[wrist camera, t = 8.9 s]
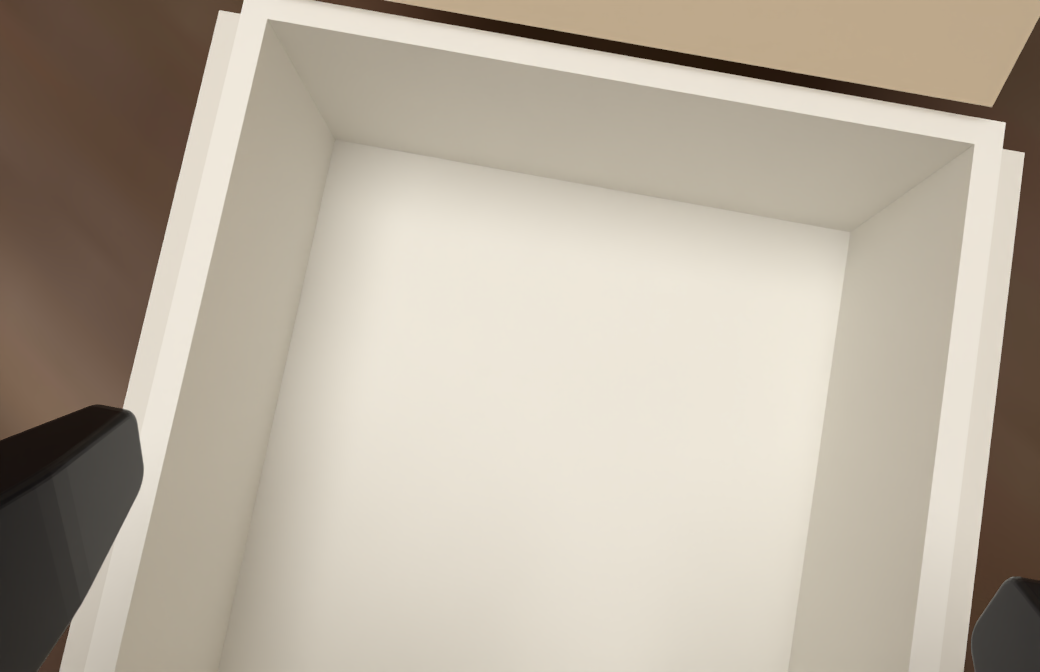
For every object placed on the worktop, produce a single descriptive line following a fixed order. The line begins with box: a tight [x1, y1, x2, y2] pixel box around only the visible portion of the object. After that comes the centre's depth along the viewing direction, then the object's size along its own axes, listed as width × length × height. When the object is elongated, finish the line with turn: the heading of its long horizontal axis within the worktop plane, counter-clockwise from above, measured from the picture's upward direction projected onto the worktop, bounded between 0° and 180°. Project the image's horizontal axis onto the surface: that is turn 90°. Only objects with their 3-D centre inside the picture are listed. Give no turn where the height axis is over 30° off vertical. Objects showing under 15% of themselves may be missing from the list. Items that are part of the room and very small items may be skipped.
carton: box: [59, 0, 1025, 672], centre depth 20 cm, size 16×15×7 cm
